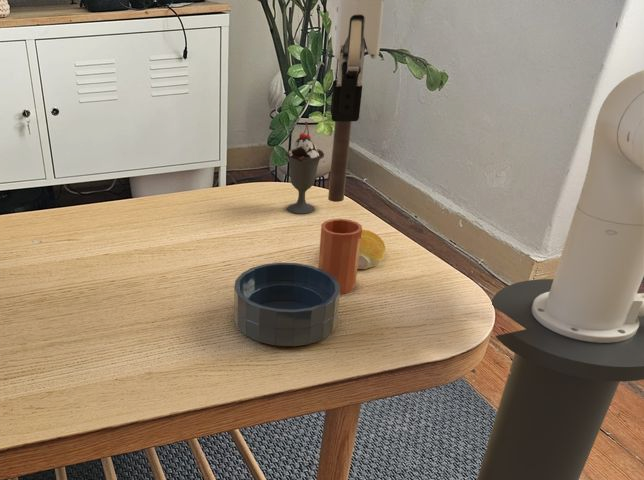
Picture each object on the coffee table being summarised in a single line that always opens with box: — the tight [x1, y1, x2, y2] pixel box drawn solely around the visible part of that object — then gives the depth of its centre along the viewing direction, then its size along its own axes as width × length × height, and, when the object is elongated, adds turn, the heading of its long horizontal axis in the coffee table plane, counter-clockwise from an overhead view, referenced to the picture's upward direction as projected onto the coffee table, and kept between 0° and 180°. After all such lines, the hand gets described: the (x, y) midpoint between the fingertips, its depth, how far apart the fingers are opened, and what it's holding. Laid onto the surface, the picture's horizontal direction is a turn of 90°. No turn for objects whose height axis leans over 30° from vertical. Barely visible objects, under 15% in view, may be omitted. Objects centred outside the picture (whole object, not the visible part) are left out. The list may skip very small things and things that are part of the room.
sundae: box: [284, 121, 325, 215], centre depth 113 cm, size 7×7×15 cm
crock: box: [317, 218, 363, 295], centre depth 90 cm, size 5×6×9 cm
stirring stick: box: [327, 121, 353, 203], centre depth 80 cm, size 2×2×16 cm
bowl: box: [233, 262, 341, 347], centre depth 84 cm, size 13×13×6 cm
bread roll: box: [357, 229, 386, 270], centre depth 99 cm, size 8×9×4 cm
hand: (344, 116), depth 79 cm, fingers closed on stirring stick, 2 cm apart
